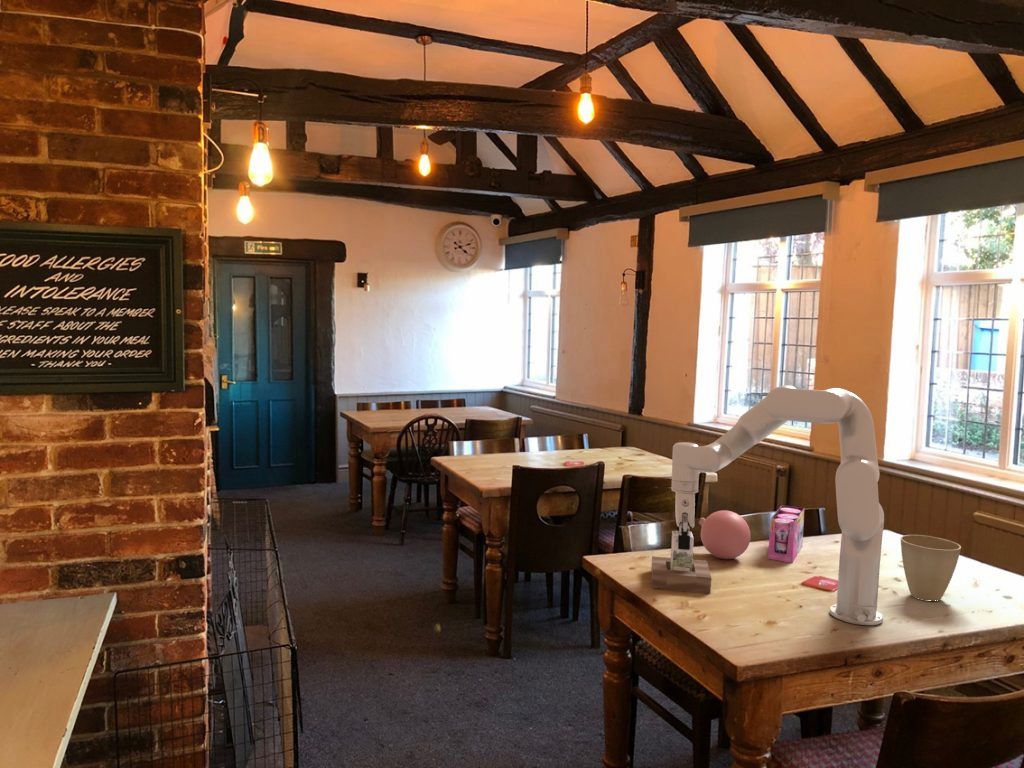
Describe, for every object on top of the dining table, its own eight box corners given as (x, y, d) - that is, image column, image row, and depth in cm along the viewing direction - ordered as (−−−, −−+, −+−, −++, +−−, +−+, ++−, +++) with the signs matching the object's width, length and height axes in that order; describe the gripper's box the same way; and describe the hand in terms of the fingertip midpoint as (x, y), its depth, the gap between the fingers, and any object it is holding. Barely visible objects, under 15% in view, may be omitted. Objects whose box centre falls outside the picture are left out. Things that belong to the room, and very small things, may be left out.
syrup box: (689, 579, 224) (691, 530, 223) (691, 586, 218) (694, 536, 217) (669, 578, 225) (671, 529, 224) (670, 584, 219) (673, 534, 218)
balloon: (720, 545, 261) (722, 501, 260) (759, 563, 243) (762, 515, 242) (681, 549, 256) (684, 503, 254) (719, 567, 237) (721, 518, 236)
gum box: (792, 564, 243) (794, 522, 242) (766, 560, 246) (768, 518, 245) (802, 546, 264) (805, 507, 263) (778, 543, 268) (781, 504, 266)
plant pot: (925, 609, 206) (929, 550, 205) (884, 590, 221) (888, 535, 219) (969, 605, 210) (974, 548, 209) (927, 587, 225) (931, 533, 223)
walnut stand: (710, 593, 213) (711, 577, 212) (651, 588, 215) (652, 572, 215) (705, 575, 229) (706, 560, 228) (651, 570, 231) (652, 556, 231)
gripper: (700, 492, 211) (698, 553, 212) (696, 480, 228) (694, 537, 229) (672, 491, 212) (670, 552, 213) (670, 479, 229) (668, 536, 230)
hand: (683, 544), depth 221 cm, fingers open, 9 cm apart
